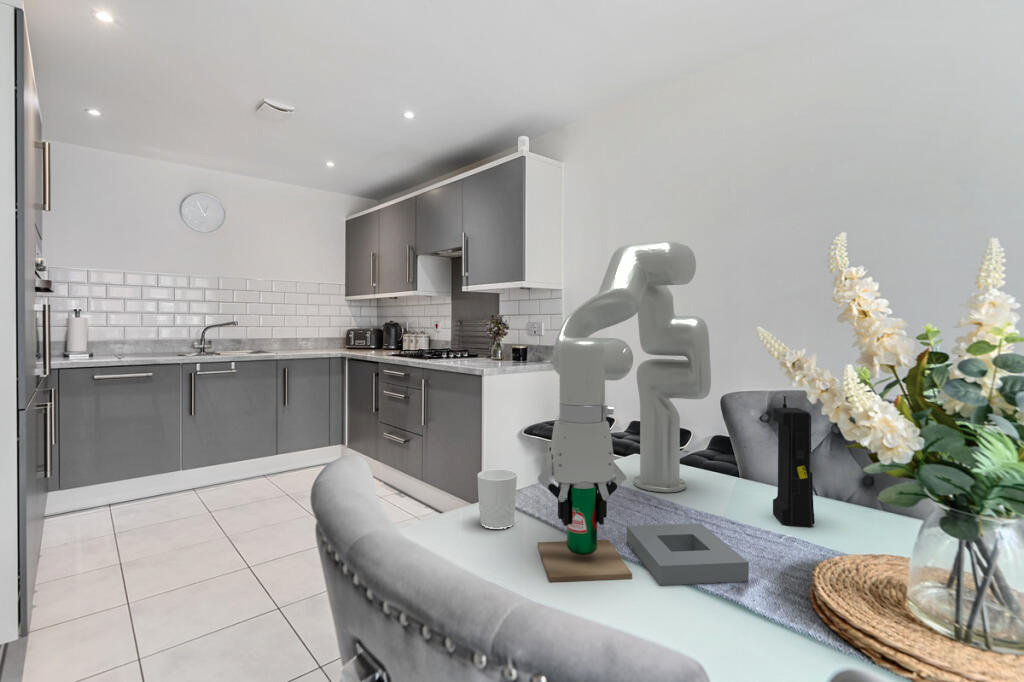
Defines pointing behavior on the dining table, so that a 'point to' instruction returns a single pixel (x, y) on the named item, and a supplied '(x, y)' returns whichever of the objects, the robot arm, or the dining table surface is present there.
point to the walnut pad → (582, 563)
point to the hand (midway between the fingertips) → (582, 521)
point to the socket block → (686, 554)
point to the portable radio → (794, 468)
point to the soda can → (582, 518)
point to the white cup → (497, 497)
